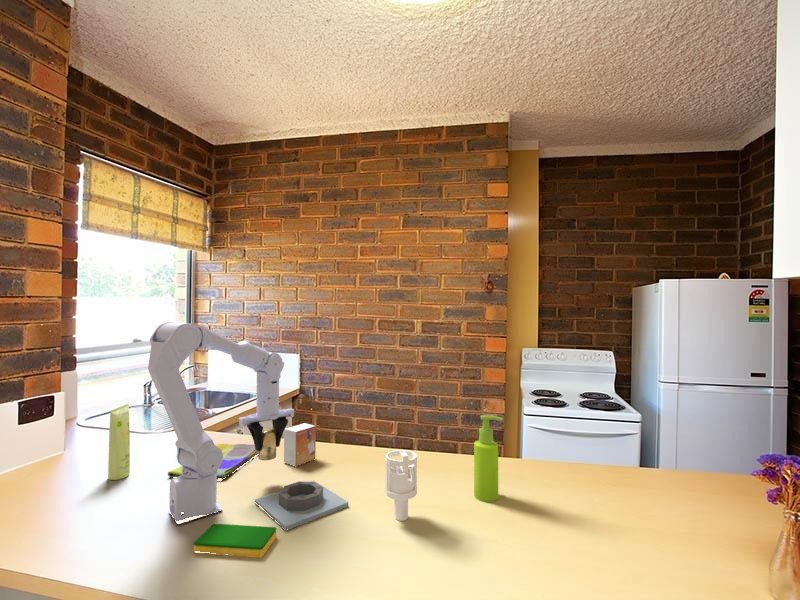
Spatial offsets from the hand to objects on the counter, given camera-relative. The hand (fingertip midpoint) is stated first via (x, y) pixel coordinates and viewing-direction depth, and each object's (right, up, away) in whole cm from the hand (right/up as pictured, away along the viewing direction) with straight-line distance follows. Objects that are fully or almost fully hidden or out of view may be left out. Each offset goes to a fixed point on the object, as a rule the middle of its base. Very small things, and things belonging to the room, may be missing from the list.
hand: (267, 448), depth 109 cm
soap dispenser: (+58, -10, -7) cm, 59 cm away
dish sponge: (+3, -10, -28) cm, 30 cm away
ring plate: (+12, -9, -12) cm, 19 cm away
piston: (0, -3, 0) cm, 2 cm away
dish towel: (-19, -10, +14) cm, 26 cm away
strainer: (+36, -9, -18) cm, 41 cm away
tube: (-42, -10, +4) cm, 44 cm away
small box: (+5, -10, +15) cm, 19 cm away
